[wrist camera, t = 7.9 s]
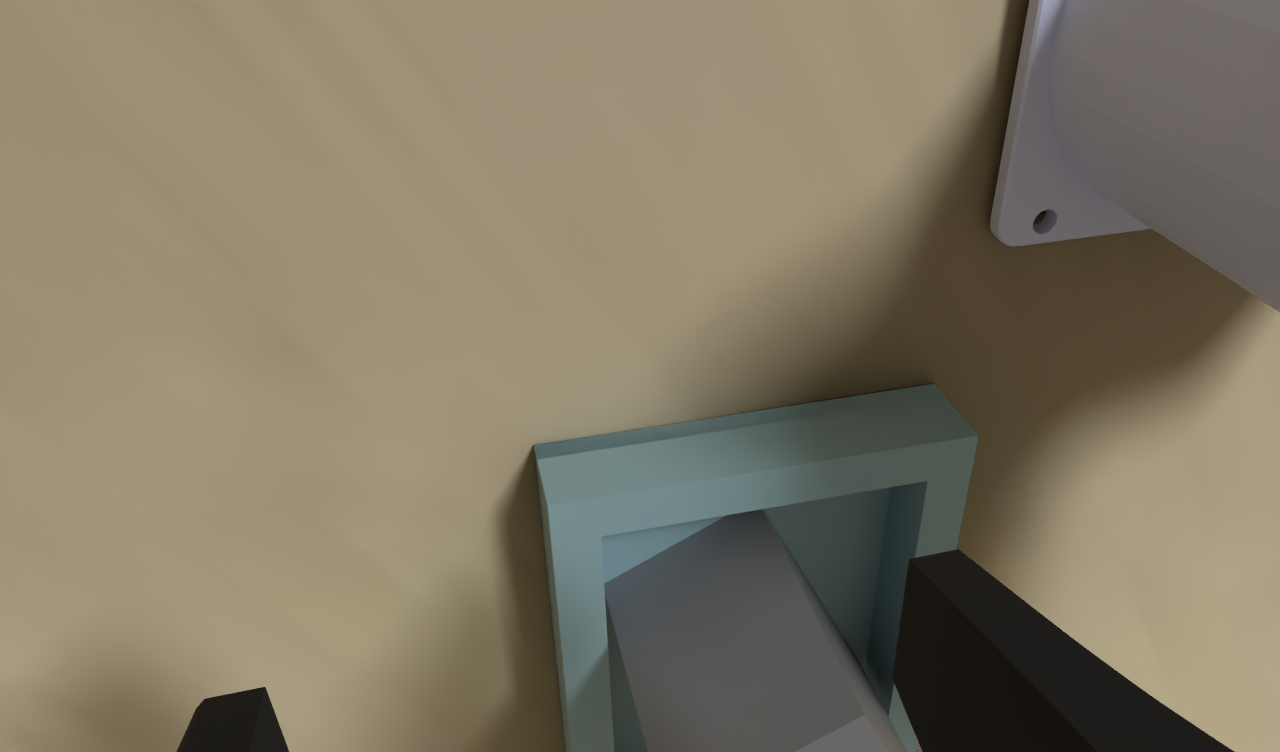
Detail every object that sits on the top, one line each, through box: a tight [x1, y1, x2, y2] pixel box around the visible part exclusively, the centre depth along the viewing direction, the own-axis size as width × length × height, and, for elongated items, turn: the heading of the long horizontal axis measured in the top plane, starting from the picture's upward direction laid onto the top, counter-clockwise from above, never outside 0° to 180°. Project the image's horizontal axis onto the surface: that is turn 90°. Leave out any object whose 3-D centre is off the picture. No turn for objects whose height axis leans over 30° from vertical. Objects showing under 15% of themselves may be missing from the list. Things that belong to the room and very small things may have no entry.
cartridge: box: [604, 509, 907, 752], centre depth 22 cm, size 4×7×6 cm, turn 28°
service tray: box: [534, 384, 979, 752], centre depth 24 cm, size 9×12×2 cm
